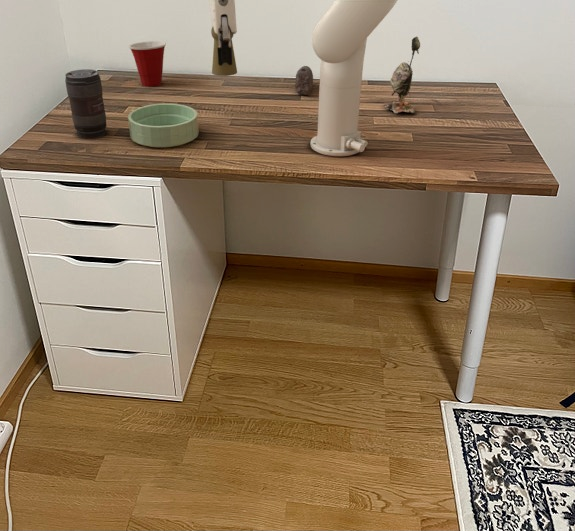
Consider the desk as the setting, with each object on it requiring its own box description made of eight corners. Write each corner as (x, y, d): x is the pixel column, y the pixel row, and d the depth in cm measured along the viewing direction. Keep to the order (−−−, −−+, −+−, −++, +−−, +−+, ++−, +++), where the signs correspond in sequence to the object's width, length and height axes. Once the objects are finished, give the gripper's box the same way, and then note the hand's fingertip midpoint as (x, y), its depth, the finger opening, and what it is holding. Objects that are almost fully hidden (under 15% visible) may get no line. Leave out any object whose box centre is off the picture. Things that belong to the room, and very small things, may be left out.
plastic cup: (158, 76, 196) (154, 37, 190) (176, 84, 189) (172, 44, 183) (126, 82, 190) (121, 42, 184) (144, 91, 183) (139, 49, 177)
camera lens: (106, 126, 159) (97, 67, 151) (110, 137, 153) (101, 76, 145) (73, 129, 157) (62, 69, 149) (76, 141, 151) (65, 79, 142)
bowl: (212, 137, 154) (210, 116, 151) (153, 155, 144) (151, 132, 141) (174, 119, 164) (173, 99, 161) (118, 134, 155) (115, 113, 152)
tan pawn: (239, 69, 151) (237, 21, 145) (234, 76, 146) (232, 27, 140) (214, 68, 152) (212, 20, 146) (209, 75, 147) (206, 26, 141)
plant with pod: (410, 102, 179) (419, 29, 168) (416, 116, 169) (426, 40, 158) (382, 102, 179) (389, 29, 168) (386, 115, 169) (394, 39, 158)
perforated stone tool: (298, 82, 193) (298, 59, 189) (314, 83, 193) (315, 60, 189) (293, 97, 181) (293, 73, 177) (311, 98, 180) (312, 74, 176)
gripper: (242, -17, 131) (244, 71, 141) (232, -28, 145) (235, 52, 155) (206, -16, 130) (211, 73, 140) (199, -27, 144) (205, 54, 154)
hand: (224, 61), depth 147 cm, fingers closed on tan pawn, 3 cm apart
